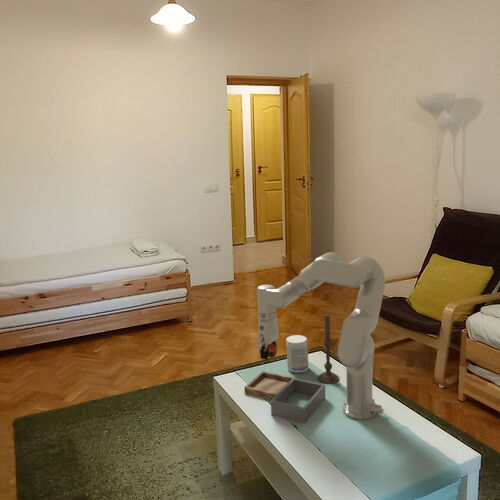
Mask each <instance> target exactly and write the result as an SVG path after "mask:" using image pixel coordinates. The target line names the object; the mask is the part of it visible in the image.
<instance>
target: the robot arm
mask: <svg viewBox="0 0 500 500" xmlns="http://www.w3.org/2000/svg"><path fill="white" fill-rule="evenodd" d="M324 283H328V284H332V285H337V286H340V287H341V286H342V287H345V288H351V289H352V288H358V287H360V288H359V291H358V295H357V299H356V303H355V307H354V309H353V311H352V312H351V313H350V314H349V315H348V316H347V317H346V318H345V320H344V322H343V324H342V328H341V331H340V335H339V336H340V337H339V341H338V345H337V346H338V347H337V357H338V359H339V361H340V363H341V364H342V365H343V366H344V367H346V402H345V403H343V404H342V412H343V414H345V416H347V417H349V418H352V419H353V420H369V419H372V418H373V417H375V416H376V415H377V414H380V415H383V414H384V408H383V405H381V404H377V403H375V402H376V401H375V399H374V398H373V374H374V373H373V365H374V364H373V363H374V355H375V342H374V339H373V337H372V336H371V333H373V331H374V330H375V329H376V328H377V326H378V323H379V322H378V321H379V317H380V312H381V307H382V303H383V302H382V301H383V297H384V293H385V288H386V287H385V286H386V278H385V272H384V270H383V268H382V267H381V265H380V264H379V262H377V260H375V259H374V258H372V257H371V256H364V255H363V256H359V257H357V258H355V259H353V260H352V261H350V262H349V263H348V262H344V260H343V258H342V256H341V255H340V254H339V253H336V252H333V251H330V252H326V253H324V254H322V255H320V256H319V257H316V258H315V259H314V261H313V262H311V263H310V264H309V265H307V266H306V267H304V268H303V269H301V270H300V273H299V274H298V275H297V276H296V277H294V278H293V279H291V280H290V281H288V282H286V283H285V284H283V285H281V286H280V287H277V288H276V287H275V286H274V285H272V284H261V285H259V286H257V288H256V301H257V304H256V305H257V320H258V323H257V324H258V325H257V326H258V327H257V338H258V339H257V340H258V341H257V347H258V349H260V352H259V355H260V359H262V360H264V361H265V360H266V361H267V360H268V359H269V357H268V350H267V345H269V344H271V343H274V344H275V345H276V348H278V347H277V342H278V338H279V336H280V335H279V334H280V331H279V323H278V316H277V309H283V308H286V306H288V305H289V304H291V303H293V302H294V301H296V300H298V299H299V298H300V297H302V296H303V295H305V294H306V293H308V292H310V291H311V290H314V289H316V288H317V287H319V286H321V285H322V284H324ZM264 342H265V343H264ZM263 344H265V347H264V346H263Z"/></svg>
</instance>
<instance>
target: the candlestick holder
mask: <svg viewBox="0 0 500 500" xmlns="http://www.w3.org/2000/svg"><path fill="white" fill-rule="evenodd" d="M322 339H323V345H324V346H325V358H326V359H325V361H326V362H325V363H324V365H323V366H324V369H325V372H323V373H320V374H318V376H317V380H318V381H319V382H320V383H321V384H325V385H326V384H327V385H328V384H329V385H330V384H336V383H338V382H339V381H340V377H339V375H338V374H336V373H334V372H332V368H333V363H331V361H330V359H331V354H330V353H331V348H330V347H331V346H332V341H333V338H332V337H331V315H330V314H328V313H326V314H325V315H324V337H323V338H322Z"/></svg>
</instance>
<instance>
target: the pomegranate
mask: <svg viewBox="0 0 500 500" xmlns="http://www.w3.org/2000/svg"><path fill="white" fill-rule="evenodd" d="M263 343H265V341H263ZM276 345H277V344H276ZM276 345H275V344H274V343H271V344H269V345H267V350H268V358H275V357H276V355H277V352H278V349H277V348H278V347H277V348H276ZM263 346H264V347H265V344H263ZM258 349H259V348H258ZM258 351H259V353H260V349H259V350H258ZM264 362H267V360H265V359H264Z"/></svg>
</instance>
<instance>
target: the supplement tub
mask: <svg viewBox="0 0 500 500" xmlns="http://www.w3.org/2000/svg"><path fill="white" fill-rule="evenodd" d="M285 341H286V343H285V344H286V346H285V347H286V361H287V370H288V371H290V372H291V373H296V374H300V373H304V372H307V371H308V369H309V351H308V350H309V346H308V339H307V337H306V336H305V335H304V336H303V335H299V334H295V335H294V334H293V335H290V336H287V338H286V340H285Z"/></svg>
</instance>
